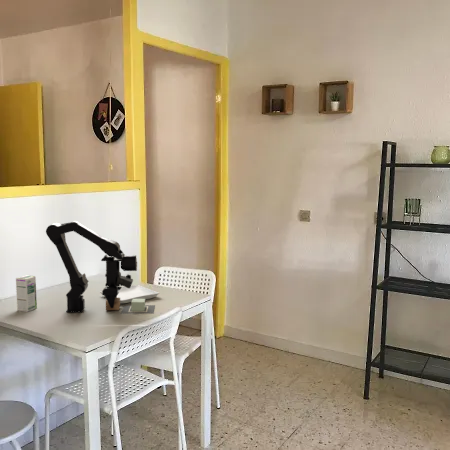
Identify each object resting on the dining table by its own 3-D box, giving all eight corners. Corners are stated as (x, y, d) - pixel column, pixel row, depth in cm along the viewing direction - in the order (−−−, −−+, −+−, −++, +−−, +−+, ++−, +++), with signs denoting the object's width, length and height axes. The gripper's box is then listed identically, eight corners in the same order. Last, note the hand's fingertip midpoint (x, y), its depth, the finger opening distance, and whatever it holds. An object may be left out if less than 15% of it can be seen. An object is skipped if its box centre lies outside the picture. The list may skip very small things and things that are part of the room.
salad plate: (98, 297, 233) (98, 290, 232) (137, 290, 247) (137, 283, 246) (120, 307, 217) (120, 300, 216) (160, 299, 231) (160, 292, 230)
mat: (120, 314, 206) (120, 313, 206) (123, 306, 218) (123, 305, 218) (153, 314, 207) (153, 313, 207) (155, 306, 219) (155, 305, 219)
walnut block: (105, 310, 208) (105, 301, 208) (107, 306, 214) (107, 297, 213) (118, 310, 209) (118, 301, 208) (120, 306, 214) (120, 297, 214)
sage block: (131, 311, 209) (131, 302, 209) (132, 307, 215) (132, 298, 214) (144, 311, 210) (144, 302, 209) (145, 307, 215) (145, 298, 215)
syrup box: (27, 312, 206) (26, 278, 205) (16, 310, 208) (15, 277, 207) (37, 308, 212) (36, 276, 210) (26, 306, 214) (25, 274, 212)
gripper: (129, 275, 201) (129, 312, 203) (133, 266, 219) (133, 299, 221) (102, 275, 200) (102, 312, 202) (108, 266, 218) (109, 299, 220)
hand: (113, 305), depth 211 cm, fingers closed on walnut block, 5 cm apart
